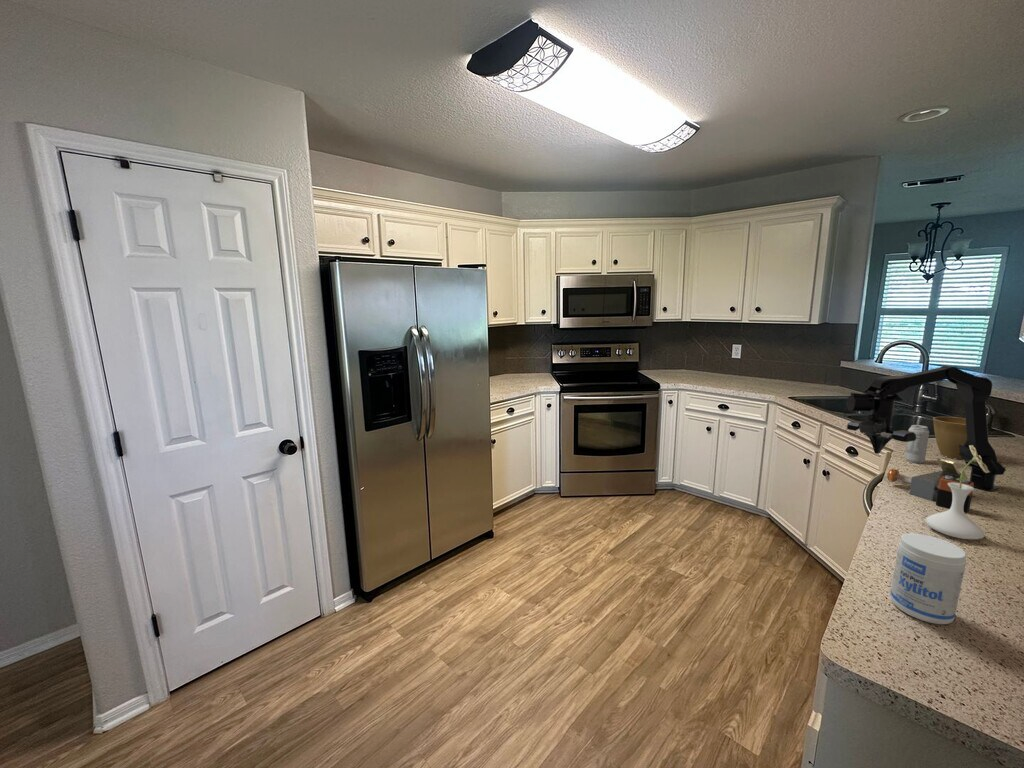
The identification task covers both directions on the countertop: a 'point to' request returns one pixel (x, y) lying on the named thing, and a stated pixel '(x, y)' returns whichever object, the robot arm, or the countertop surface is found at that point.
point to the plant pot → (950, 435)
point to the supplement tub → (928, 578)
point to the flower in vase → (958, 509)
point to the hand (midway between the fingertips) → (876, 453)
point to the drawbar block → (928, 484)
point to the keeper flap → (949, 467)
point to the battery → (946, 493)
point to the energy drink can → (917, 444)
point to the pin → (899, 477)
